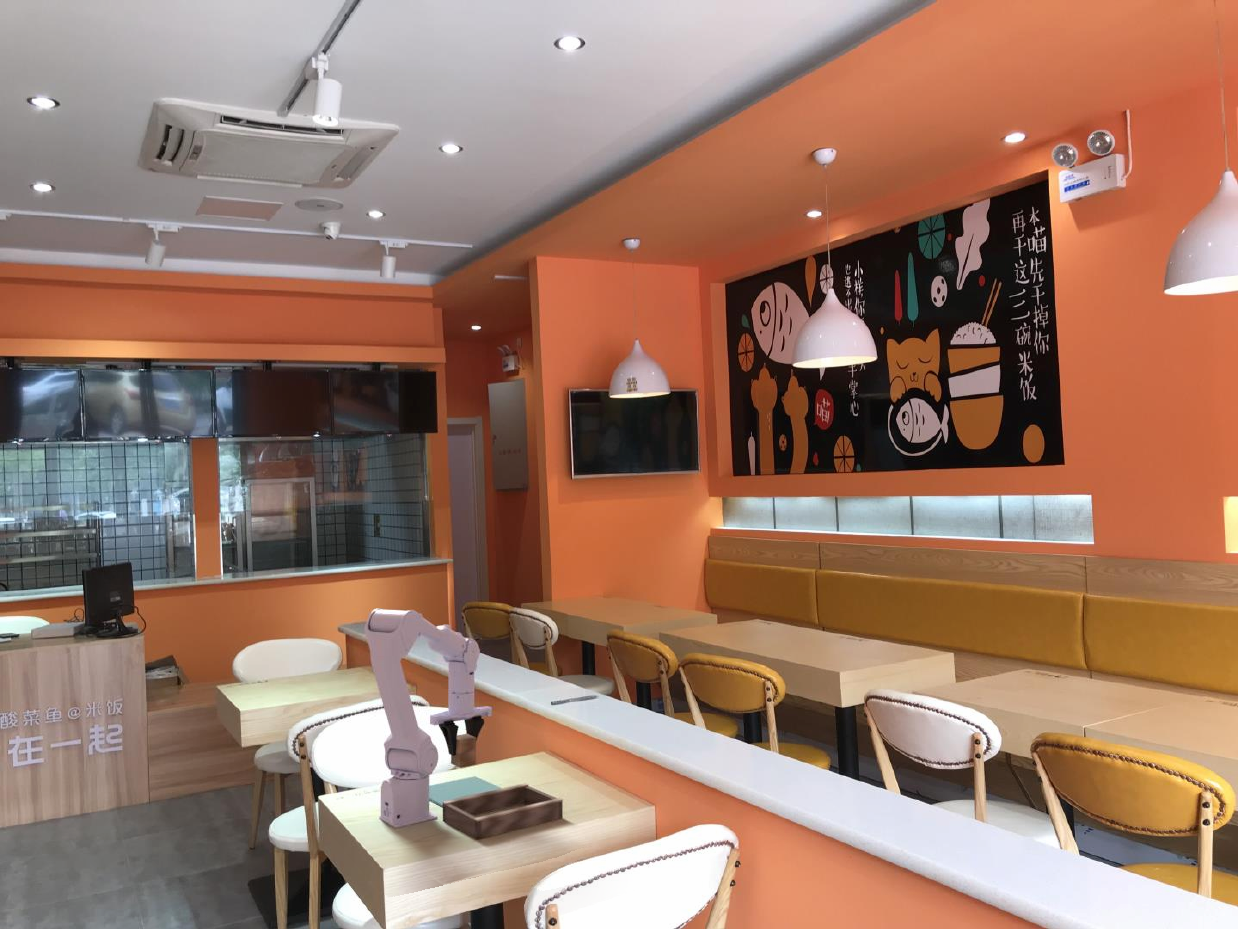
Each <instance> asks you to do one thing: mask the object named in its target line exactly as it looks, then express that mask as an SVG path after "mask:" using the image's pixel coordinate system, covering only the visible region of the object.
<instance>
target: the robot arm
mask: <svg viewBox="0 0 1238 929" xmlns="http://www.w3.org/2000/svg"><path fill="white" fill-rule="evenodd" d="M363 630H364V634H365V637H366V641H367V644H368V649H369V652H370V663H371V664H370V665H371V667H372V671H373V674H374V678H375V681H376V685H377V688H378V692H379V695H380V699H381V702H382V705H383V706H382V707H383V708H384V713H385V715H386V719H387V720H386V721H387V723H388V726H389V730H390V734H389V735H388V736H387V737H386V739H385V741H384V743H383V747H384V750H385V751H384V752H385V755H384V762H385V765H386V768H387V769H388V770H389V771H390V775H391V777H390V778H387V779H385V780H383V781H382V783H381V785H380V815H379V817H378V818H379V819H380V820H382V821H383V822H384V823H386V824H387V825H390V826H391V827H393V828H395V829H396V828H397V829H398V828H403V827H406V826H410V825H414V824H419V823H423V822H427V821H431V820H436V819H438V815H437V814H435V813H432V812H431V811H430V800H429V786H430V776H431V775H432V774H433V772H434V771H435V770H436V768H437V764H438V762H439V752H438V748H437V747H436V745H435V744H434V743H433V742H432V738H431V735H429V734H428V733H427V732H426V731H424V730H423V729H422V728H420V726H419V724H418V720H417V716H416V713H415V709H414V707H413V703H412V700H411V695H410V692H409V688H408V685H407V680H406V677H405V674H404V670H403V666H402V663H401V661H402V659H403V658H405V657H407V656H408V654H409V652H411V649H412V648H413V646H414V645H415V643H416V641H417V639H418V638H419V639H422V640H423V641H424V640H425V641H427V646H428V647H429V648H430V649H431V651H434V652H436V654H439V655H441V656H442V658H443V661H445V663H448V710H446V711H441V712H439V713H435V714H430V715H429V724H430V725H432V726H438V727H439V728H440V730H441V733H442V735H443V737H444V740H445V742H446V743H445V744H446V746H447V750H448V755H450V756H451V755H452V756H454V755H456V739H457V735H458V731H459V728H460V727H459V725H457V724H456V723H455V722H459V721H464V726H465V731H466V732H465V734H469V735H471V736H474V737H476V742H477V741H478V738H479V735H480V732H481V730H482V728H483V727H484V725H485V718H483V717H492V715H493V713H492V711H493V708H492V707H491V706H488V705H485V706H479V707H478V706H475V671H476V670H477V668H478V667H477V666H478V664H477V663H478V660H479V657H480V653H481V652H480V651H481V649H480V647H479V644H478V642H477V641H476V640H475V639H474V638H471V637H470V638H469V637H464V636H463V634H462V633H461V632H459V631H458V632H457V631H454V630H453V629H452V626H451V625H449V624H443V625H437V626H436V625H434V624H433V623H431V621H429V620H427V619H426V618H424V617H423V614H422V613H421V612H417V611H416V610H413V609H410V610H403V609H402V610H399V609H384V608H380V607H379V608H374V609H373V610H372V611H371V612H370V614H369V615H368V617H367V620H366V623H365V625H364V628H363Z"/></svg>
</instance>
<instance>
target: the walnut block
mask: <svg viewBox="0 0 1238 929" xmlns="http://www.w3.org/2000/svg"><path fill="white" fill-rule="evenodd" d="M450 757H451V758H450V764H452V765H454V766H455V767H457V768H460V769H461V768H465V767H471V766H475V765H477V741H476V737H474V736H471V735H469V734H466V733H462V734H457V739H456V755H454V756H452V755H450Z"/></svg>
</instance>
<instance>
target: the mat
mask: <svg viewBox="0 0 1238 929" xmlns="http://www.w3.org/2000/svg"><path fill="white" fill-rule="evenodd" d="M503 788H504V787H500V786H498V785H495V784H494V783H491V782H489V781H486V780H485V779H482V778H480V777H478V776H476V775H474V776H470V777H469V776H468V777H465V778H464V777H463V778H461V779H455V780H451V781H445V782H440V783H436V784H432V785H430V784H429V802H432V803H433V804H435V803H436V805H437V804H438V805H437V806H439V807H441V808H443V802H444V801H449V800H453V799H458V798H462V797H467V796H471V795H476V794H480V793H485V792H489V791H494V790H498V789H503Z"/></svg>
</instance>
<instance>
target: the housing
mask: <svg viewBox="0 0 1238 929" xmlns="http://www.w3.org/2000/svg"><path fill="white" fill-rule="evenodd" d="M502 788H503V789H498V790H494V791H489V792H485V793H480V794H476V795H471V796H467V797H462V798H458V799H453V800H449V801H444V802H443V807H442V822H444V823H446V824H447V825H450V826H452V827H453V828H455V829H457V830H459V831H461V832H463V833H464V834H466V835H468V836H470V837H472V838H473V839H475V840H482V839H486V838H490V837H493V836H497V835H501V834H505V833H509V832H513V831H516V830H520V829H524V828H529V827H532V826H536V825H539V824H544V823H547V822H552V821H555V820H559V819H562V818H563V817H564V816H563V810H564V809H563V807H564V806H563V805H564V804H563V802H564V799H563V798H561V797H555V796H553V795H550V794H548V793H546V792H544V791H541V790H538V789H535V788H534V787H533V786H529V784H527V783H521V784H516V785H513V786H508V787H502ZM523 804H525V806H520V807H515V806H519V805H523ZM509 807H510V808H511V807H515V808H512V809H507V810H504V811H499V812H495V813H491V814H488V815H482V816H477V817H476V815H480V814H485V813H489V812H493V811H498V810H502V809H505V808H509Z"/></svg>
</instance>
